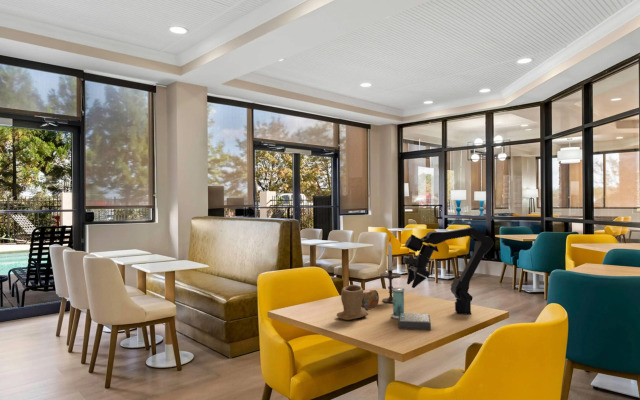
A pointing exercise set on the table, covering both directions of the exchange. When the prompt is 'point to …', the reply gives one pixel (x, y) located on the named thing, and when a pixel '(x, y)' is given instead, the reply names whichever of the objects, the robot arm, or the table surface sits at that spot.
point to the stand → (414, 321)
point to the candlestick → (389, 275)
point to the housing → (398, 302)
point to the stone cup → (352, 303)
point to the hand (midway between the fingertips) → (410, 285)
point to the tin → (370, 299)
